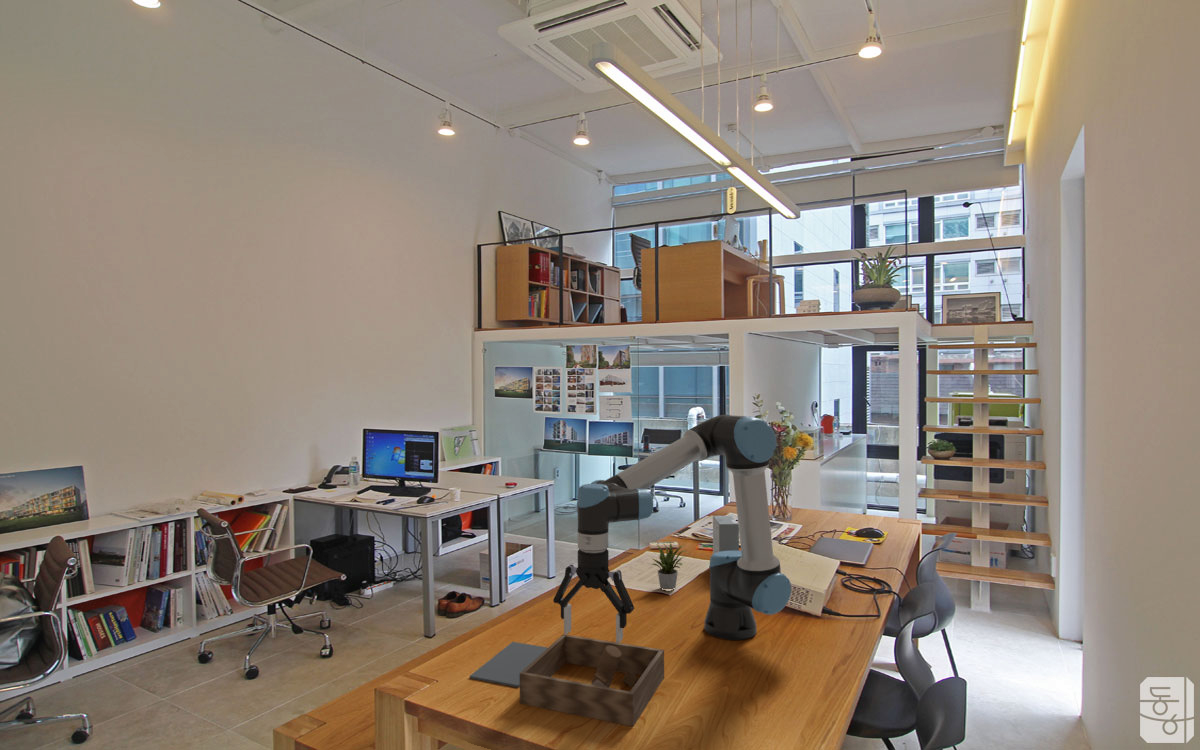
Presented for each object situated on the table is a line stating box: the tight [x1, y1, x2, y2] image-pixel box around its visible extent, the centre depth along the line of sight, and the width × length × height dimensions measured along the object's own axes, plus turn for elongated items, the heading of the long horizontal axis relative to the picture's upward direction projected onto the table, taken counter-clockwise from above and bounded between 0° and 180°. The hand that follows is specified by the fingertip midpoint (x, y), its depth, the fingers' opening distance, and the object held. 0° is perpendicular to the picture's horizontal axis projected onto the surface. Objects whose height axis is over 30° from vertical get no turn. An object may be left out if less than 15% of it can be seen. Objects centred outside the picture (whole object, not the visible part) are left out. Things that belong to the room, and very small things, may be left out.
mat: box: [469, 641, 549, 689], centre depth 173 cm, size 14×22×1 cm, turn 158°
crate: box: [519, 633, 665, 727], centre depth 158 cm, size 28×24×7 cm
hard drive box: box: [712, 515, 740, 554], centre depth 249 cm, size 16×8×20 cm, turn 179°
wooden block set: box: [590, 645, 639, 688], centre depth 155 cm, size 18×9×10 cm, turn 147°
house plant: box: [648, 542, 687, 589], centre depth 230 cm, size 14×14×16 cm
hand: (593, 636), depth 158 cm, fingers open, 13 cm apart
